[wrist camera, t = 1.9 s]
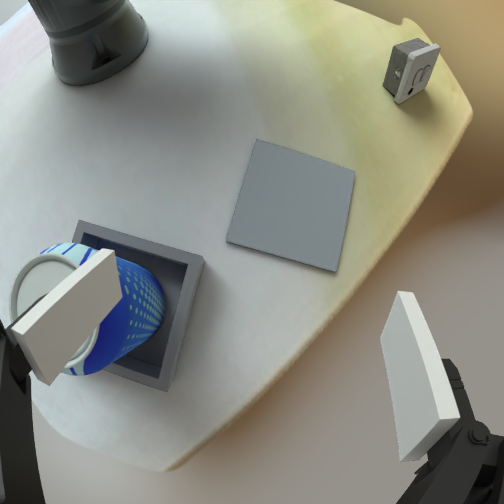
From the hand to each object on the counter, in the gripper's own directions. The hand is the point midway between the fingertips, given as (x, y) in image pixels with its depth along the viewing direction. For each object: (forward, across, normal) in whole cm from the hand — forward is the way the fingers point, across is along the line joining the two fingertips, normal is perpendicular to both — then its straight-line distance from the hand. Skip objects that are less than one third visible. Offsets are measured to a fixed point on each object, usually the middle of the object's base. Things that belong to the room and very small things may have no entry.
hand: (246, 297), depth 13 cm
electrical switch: (+37, +16, +15) cm, 43 cm away
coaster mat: (+21, +1, -2) cm, 21 cm away
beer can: (+11, -14, -11) cm, 21 cm away
